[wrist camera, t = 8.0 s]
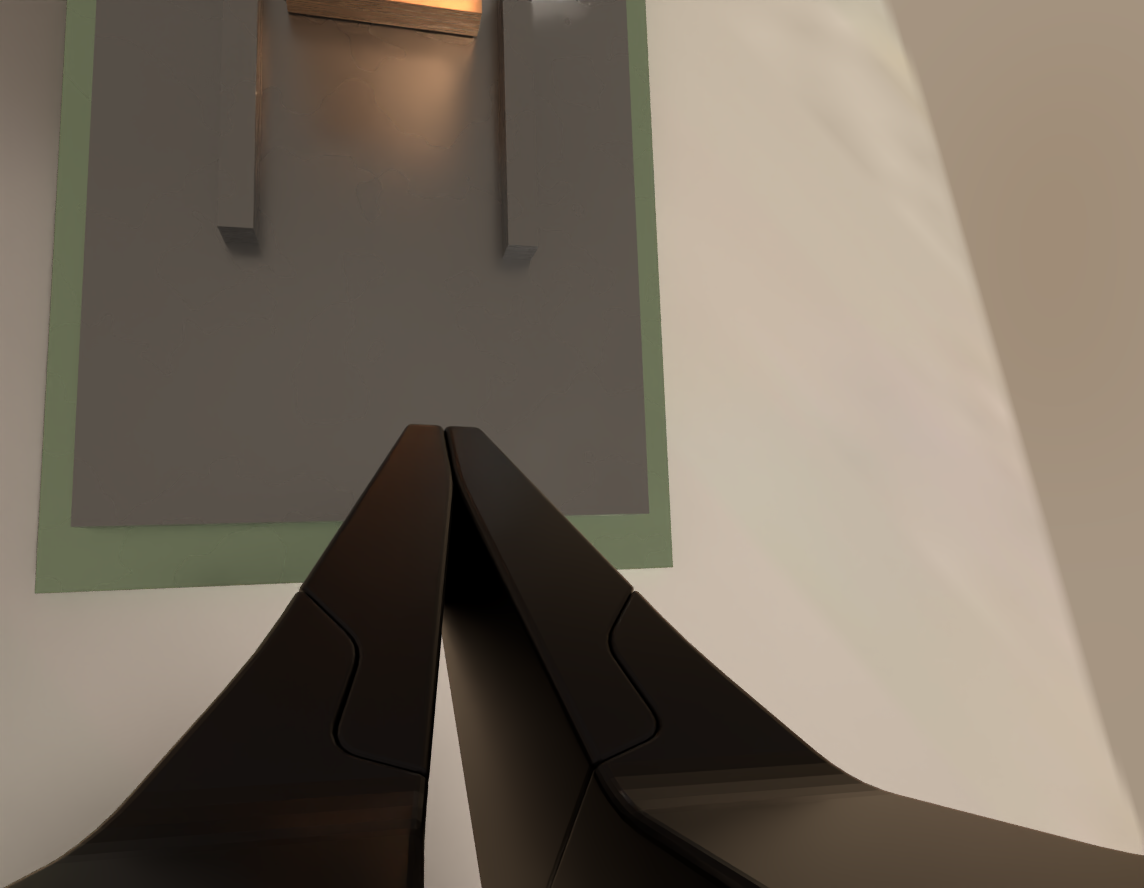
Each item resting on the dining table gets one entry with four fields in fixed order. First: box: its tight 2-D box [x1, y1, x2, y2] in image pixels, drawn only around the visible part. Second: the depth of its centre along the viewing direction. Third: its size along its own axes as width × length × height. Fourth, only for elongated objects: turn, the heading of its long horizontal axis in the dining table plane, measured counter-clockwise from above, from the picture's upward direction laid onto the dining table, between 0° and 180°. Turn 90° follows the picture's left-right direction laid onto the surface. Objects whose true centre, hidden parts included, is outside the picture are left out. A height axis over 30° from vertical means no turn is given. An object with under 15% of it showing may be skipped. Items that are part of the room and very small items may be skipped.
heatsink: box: [35, 0, 673, 593], centre depth 20 cm, size 25×16×5 cm, turn 1°
